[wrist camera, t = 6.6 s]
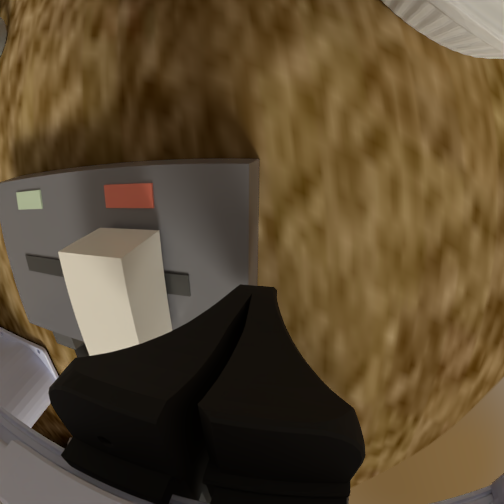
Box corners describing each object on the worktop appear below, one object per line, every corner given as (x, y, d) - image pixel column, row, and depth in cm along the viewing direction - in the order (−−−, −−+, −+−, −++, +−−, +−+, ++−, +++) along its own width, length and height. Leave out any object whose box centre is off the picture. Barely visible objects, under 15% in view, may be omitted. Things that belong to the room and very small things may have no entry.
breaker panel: (82, 385, 22) (68, 403, 19) (21, 175, 15) (-7, 184, 12) (253, 429, 19) (247, 457, 17) (259, 158, 12) (248, 164, 10)
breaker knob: (119, 323, 13) (90, 357, 11) (100, 227, 12) (57, 251, 9) (173, 334, 13) (147, 374, 10) (159, 230, 11) (120, 258, 9)
